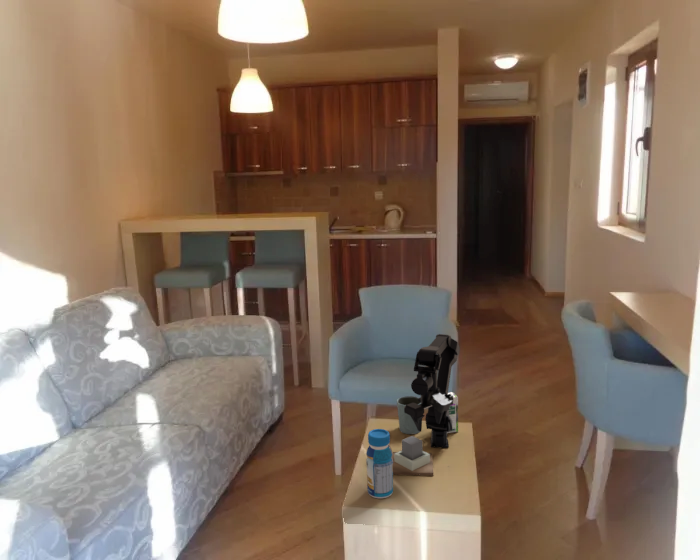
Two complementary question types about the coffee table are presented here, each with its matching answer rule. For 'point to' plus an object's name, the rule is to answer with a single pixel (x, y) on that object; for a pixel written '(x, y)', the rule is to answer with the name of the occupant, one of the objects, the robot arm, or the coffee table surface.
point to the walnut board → (421, 470)
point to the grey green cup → (406, 415)
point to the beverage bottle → (379, 464)
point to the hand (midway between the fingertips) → (429, 427)
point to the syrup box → (454, 413)
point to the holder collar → (412, 463)
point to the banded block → (412, 448)
